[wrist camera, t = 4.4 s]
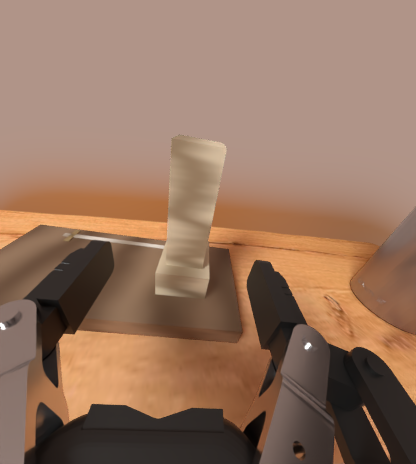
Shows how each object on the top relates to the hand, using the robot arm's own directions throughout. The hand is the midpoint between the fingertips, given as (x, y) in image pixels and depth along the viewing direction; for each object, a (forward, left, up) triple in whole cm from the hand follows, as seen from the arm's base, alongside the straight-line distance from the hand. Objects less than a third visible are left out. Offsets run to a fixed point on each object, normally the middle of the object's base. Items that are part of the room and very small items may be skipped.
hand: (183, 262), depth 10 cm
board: (+7, -7, -10) cm, 14 cm away
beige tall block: (0, -7, -8) cm, 11 cm away
